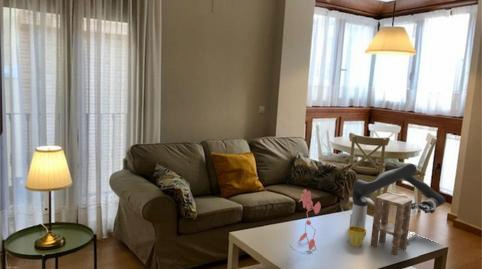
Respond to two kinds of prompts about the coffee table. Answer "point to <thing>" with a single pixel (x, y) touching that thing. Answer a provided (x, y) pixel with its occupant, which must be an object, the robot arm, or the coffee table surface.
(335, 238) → the coffee table surface
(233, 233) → the coffee table surface
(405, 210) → the walnut stand
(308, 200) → the figurine
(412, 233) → the brushed grey block
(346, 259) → the coffee table surface
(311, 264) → the coffee table surface
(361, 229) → the plant pot
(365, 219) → the robot arm
